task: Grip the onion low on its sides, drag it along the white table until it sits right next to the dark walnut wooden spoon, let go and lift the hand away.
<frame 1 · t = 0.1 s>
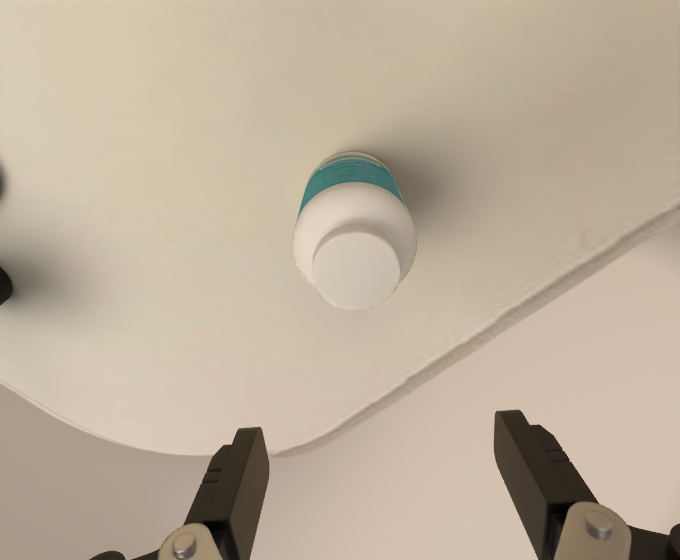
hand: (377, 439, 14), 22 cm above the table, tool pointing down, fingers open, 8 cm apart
pill bottle: (351, 196, 33), on the table
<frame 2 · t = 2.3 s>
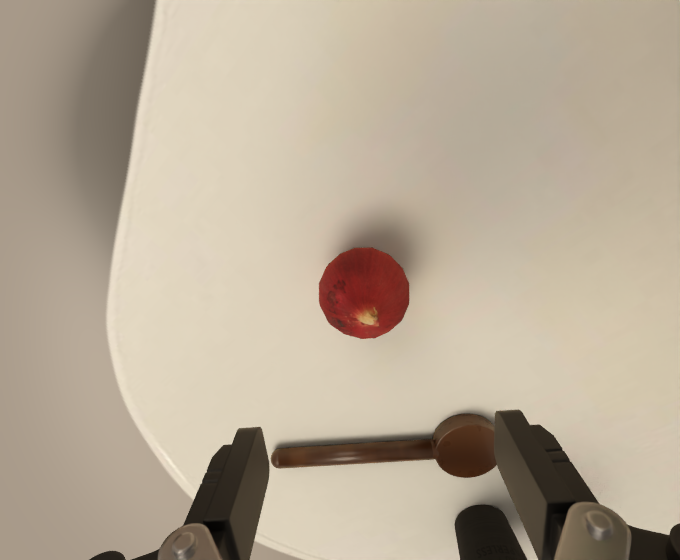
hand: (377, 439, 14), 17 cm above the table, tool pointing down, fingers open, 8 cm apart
spoon: (377, 445, 35), on the table
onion: (362, 272, 29), on the table
drinking cup: (479, 521, 38), on the table
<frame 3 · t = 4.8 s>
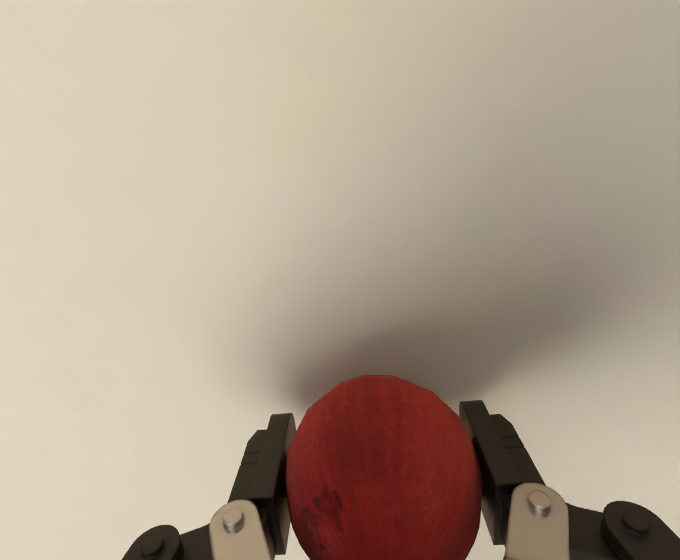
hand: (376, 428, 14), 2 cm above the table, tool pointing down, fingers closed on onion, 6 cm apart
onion: (374, 395, 16), on the table, touching gripper
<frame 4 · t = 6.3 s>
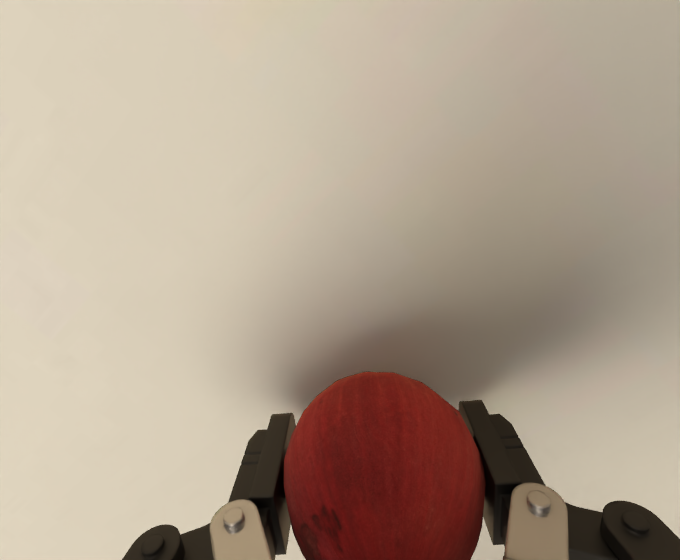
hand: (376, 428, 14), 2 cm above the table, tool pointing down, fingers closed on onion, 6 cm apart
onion: (373, 380, 15), on the table, touching gripper
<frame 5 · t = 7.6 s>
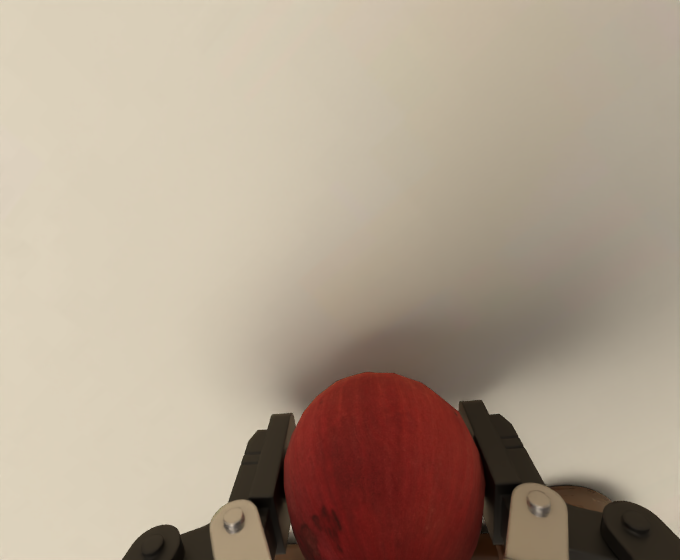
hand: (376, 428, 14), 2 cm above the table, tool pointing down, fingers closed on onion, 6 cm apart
spoon: (387, 542, 18), on the table
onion: (372, 381, 15), on the table, touching gripper
when the fingers open (2 cm above the table, at t = 8.1 s): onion stays where it is, on the table.
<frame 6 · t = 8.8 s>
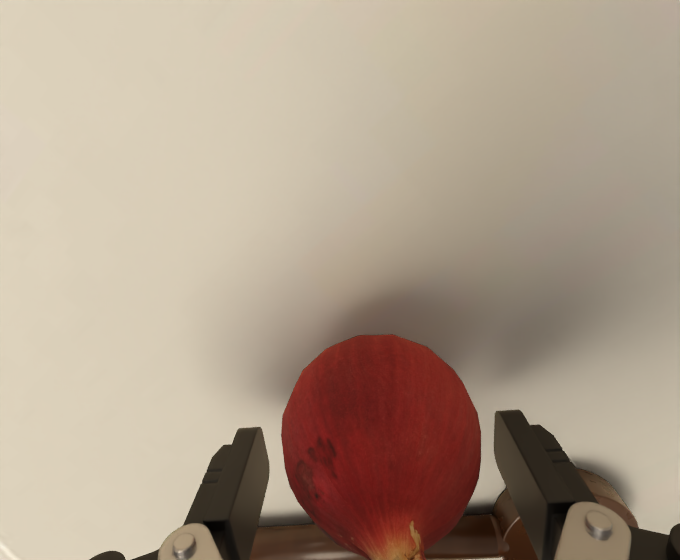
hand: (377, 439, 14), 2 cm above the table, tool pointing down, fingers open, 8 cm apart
spoon: (387, 524, 18), on the table
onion: (372, 362, 16), on the table
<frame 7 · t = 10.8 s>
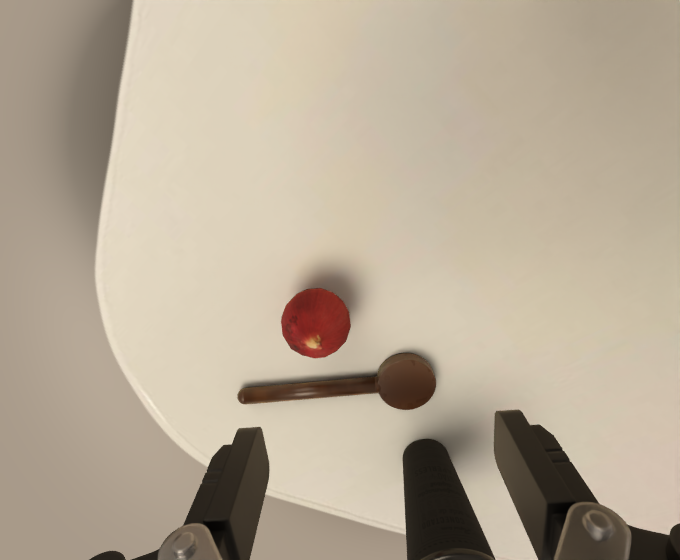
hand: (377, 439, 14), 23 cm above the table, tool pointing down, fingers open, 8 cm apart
spoon: (330, 384, 40), on the table
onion: (319, 305, 38), on the table
drinking cup: (424, 455, 43), on the table
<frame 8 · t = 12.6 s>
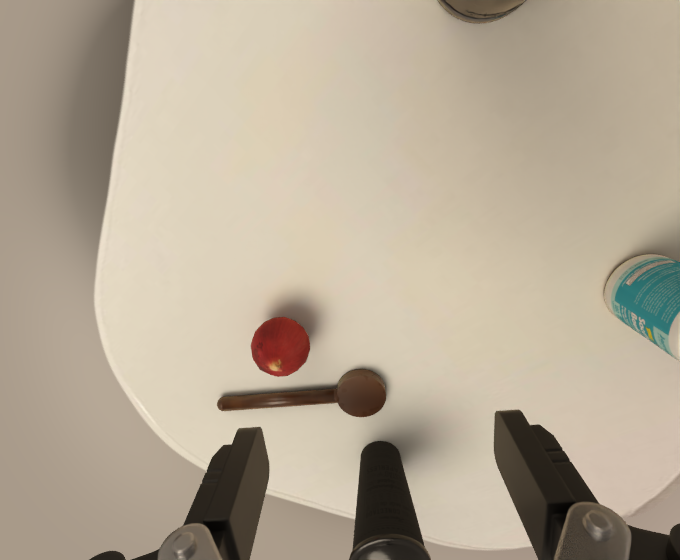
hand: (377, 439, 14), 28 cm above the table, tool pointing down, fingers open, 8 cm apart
spoon: (297, 394, 47), on the table
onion: (286, 328, 44), on the table
pill bottle: (636, 286, 41), on the table
drinking cup: (380, 455, 50), on the table
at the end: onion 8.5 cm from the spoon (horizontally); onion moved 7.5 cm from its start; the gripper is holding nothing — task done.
